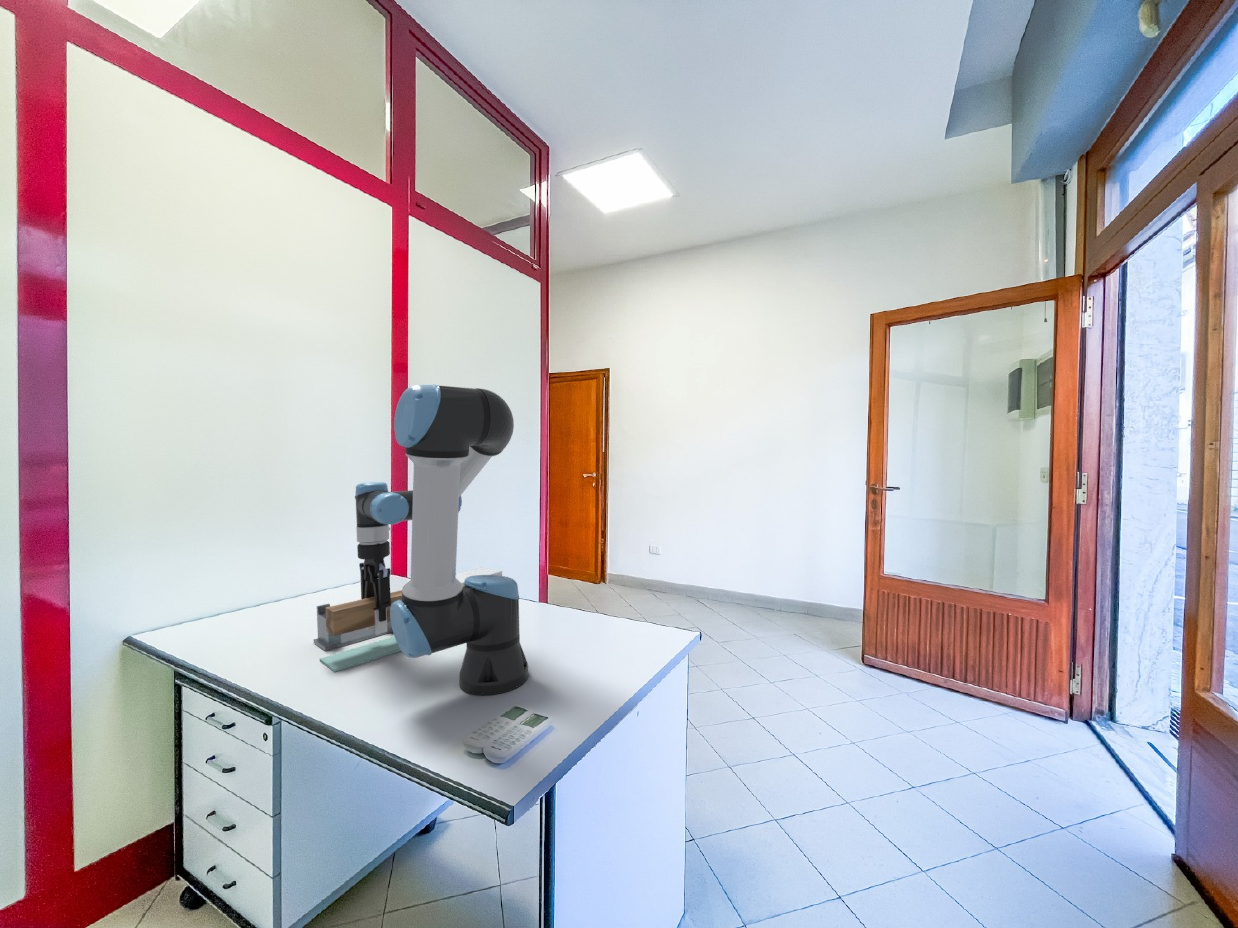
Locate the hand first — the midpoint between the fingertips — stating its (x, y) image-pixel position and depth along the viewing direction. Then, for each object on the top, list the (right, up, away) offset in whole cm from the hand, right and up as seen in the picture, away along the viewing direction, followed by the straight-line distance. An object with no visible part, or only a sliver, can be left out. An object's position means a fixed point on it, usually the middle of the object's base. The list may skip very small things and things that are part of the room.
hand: (376, 630), depth 129 cm
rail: (0, +2, 0) cm, 2 cm away
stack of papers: (+11, -5, +30) cm, 32 cm away
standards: (-10, -5, +11) cm, 16 cm away
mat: (0, -5, 0) cm, 5 cm away
